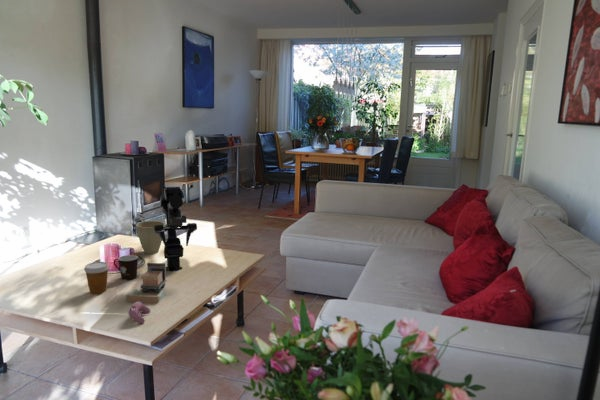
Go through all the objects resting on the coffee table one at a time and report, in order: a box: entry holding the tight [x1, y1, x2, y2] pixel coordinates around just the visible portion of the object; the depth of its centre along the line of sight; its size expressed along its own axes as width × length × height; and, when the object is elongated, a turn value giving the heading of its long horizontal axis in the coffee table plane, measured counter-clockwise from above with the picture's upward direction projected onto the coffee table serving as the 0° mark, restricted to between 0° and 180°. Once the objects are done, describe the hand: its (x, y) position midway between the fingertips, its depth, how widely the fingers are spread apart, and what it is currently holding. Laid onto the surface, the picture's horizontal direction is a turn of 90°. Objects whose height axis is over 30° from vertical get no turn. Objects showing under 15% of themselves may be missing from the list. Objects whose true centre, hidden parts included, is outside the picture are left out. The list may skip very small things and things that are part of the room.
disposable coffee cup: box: [83, 261, 110, 295], centre depth 186 cm, size 10×10×12 cm
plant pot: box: [135, 220, 166, 255], centre depth 242 cm, size 15×15×16 cm
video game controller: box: [127, 302, 151, 324], centre depth 163 cm, size 10×5×7 cm, turn 5°
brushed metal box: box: [140, 262, 167, 294], centre depth 189 cm, size 9×8×10 cm
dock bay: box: [126, 288, 166, 304], centre depth 181 cm, size 9×13×3 cm
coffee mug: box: [113, 254, 139, 281], centre depth 203 cm, size 12×9×10 cm
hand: (176, 246), depth 198 cm, fingers open, 9 cm apart
